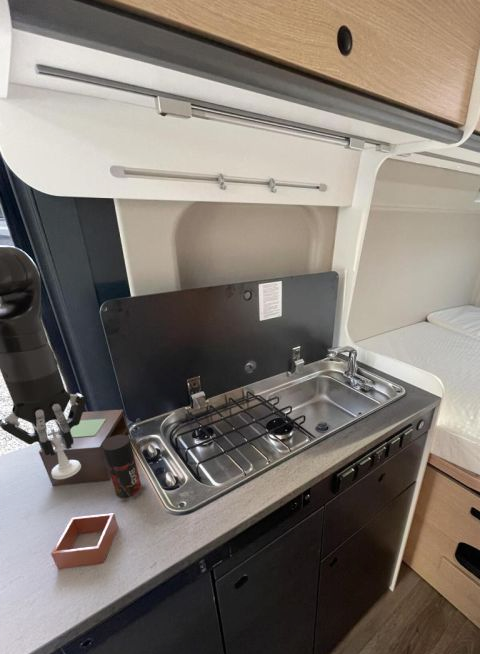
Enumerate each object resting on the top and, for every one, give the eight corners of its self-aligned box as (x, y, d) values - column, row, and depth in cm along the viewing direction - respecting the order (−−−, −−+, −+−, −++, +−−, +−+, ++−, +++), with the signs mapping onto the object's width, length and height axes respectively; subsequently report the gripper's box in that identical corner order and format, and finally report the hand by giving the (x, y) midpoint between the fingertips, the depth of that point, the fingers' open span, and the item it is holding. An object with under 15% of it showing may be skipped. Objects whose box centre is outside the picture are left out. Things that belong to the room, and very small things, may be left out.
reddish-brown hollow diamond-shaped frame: (57, 569, 65) (50, 554, 63) (77, 531, 73) (71, 517, 71) (103, 563, 66) (98, 548, 64) (118, 527, 74) (114, 512, 72)
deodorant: (123, 480, 87) (110, 434, 81) (145, 481, 87) (134, 434, 81) (111, 497, 82) (96, 449, 75) (134, 498, 81) (121, 450, 75)
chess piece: (81, 473, 65) (68, 431, 61) (51, 483, 62) (35, 440, 58) (80, 459, 69) (67, 419, 64) (52, 467, 66) (36, 426, 62)
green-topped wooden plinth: (52, 485, 85) (38, 451, 80) (82, 442, 101) (72, 412, 96) (109, 480, 87) (99, 446, 82) (130, 439, 103) (123, 408, 98)
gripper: (67, 353, 63) (89, 427, 70) (-29, 377, 53) (8, 461, 60) (84, 363, 59) (105, 441, 66) (-16, 391, 49) (22, 479, 56)
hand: (59, 450), depth 63 cm, fingers closed on chess piece
